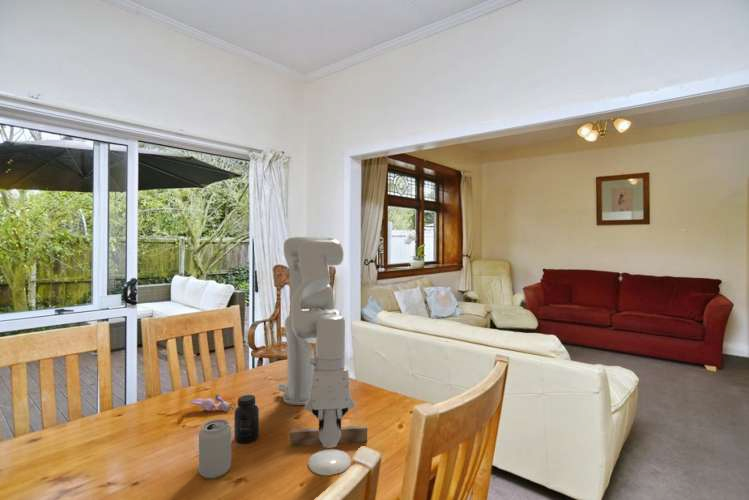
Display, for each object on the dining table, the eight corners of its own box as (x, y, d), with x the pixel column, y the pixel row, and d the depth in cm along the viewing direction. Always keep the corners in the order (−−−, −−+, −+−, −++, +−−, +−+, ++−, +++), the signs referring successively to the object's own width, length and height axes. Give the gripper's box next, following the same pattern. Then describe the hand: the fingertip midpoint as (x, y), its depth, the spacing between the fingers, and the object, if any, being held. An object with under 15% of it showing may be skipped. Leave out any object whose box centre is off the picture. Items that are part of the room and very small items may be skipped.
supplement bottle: (263, 434, 113) (263, 395, 113) (248, 446, 107) (249, 404, 107) (244, 430, 116) (244, 391, 115) (229, 441, 109) (229, 400, 109)
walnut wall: (289, 446, 107) (290, 432, 107) (290, 443, 109) (290, 429, 108) (367, 441, 110) (367, 428, 110) (366, 438, 112) (366, 425, 111)
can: (205, 463, 99) (205, 417, 98) (234, 461, 99) (234, 416, 99) (193, 481, 91) (193, 432, 91) (225, 480, 92) (226, 431, 92)
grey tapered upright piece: (343, 438, 102) (343, 390, 102) (338, 450, 96) (339, 399, 96) (321, 437, 103) (321, 389, 102) (316, 449, 97) (316, 398, 97)
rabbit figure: (235, 409, 133) (192, 403, 132) (238, 393, 133) (195, 387, 132) (230, 418, 127) (184, 411, 125) (233, 400, 126) (187, 394, 125)
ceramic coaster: (300, 470, 96) (300, 469, 96) (319, 448, 106) (319, 446, 106) (341, 478, 93) (341, 477, 93) (356, 454, 103) (356, 453, 103)
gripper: (297, 368, 94) (297, 441, 94) (363, 366, 96) (362, 437, 97) (299, 359, 102) (299, 427, 102) (360, 357, 104) (359, 423, 104)
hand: (329, 431), depth 99 cm, fingers closed on grey tapered upright piece, 3 cm apart
